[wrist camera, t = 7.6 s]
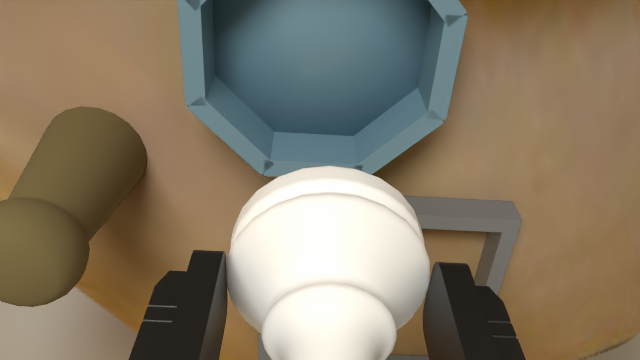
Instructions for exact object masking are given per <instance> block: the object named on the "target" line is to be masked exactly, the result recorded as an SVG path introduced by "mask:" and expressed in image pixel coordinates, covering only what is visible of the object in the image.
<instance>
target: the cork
mask: <svg viewBox="0 0 640 360" xmlns="http://www.w3.org/2000/svg"><path fill="white" fill-rule="evenodd" d="M146 165H147V157H146V149H145V147H144V144H143V142H142V140H141V138H140V136H139V135H138V133H137V132H136V131H135V130H134V129H133V128H132V127H131V126H130V124H129V123H127V122H126V121H124V120H123V119H121V118H120V117H118V116H117V115H115V114H113V113H110V112H108V111H105V110H102V109H99V108H91V107H78V108H73V109H69V110H65V111H64V112H62V113H61V114H59V115H58V116H56V117H55V118H54V119H53V120H52V122H51V123H50V125H49V126H48V128H47V129H46V131H45V133H44V134H43V136H42V138H41V140H40V142H39V144H38V145H37V147H36V149H35V151H34V153H33V154H32V156H31V158H30V160H29V162H28V163H27V165H26V167H25V169H24V171H23V173H22V174H21V176H20V178H19V180H18V182H17V183H16V185H15V187H14V189H13V191H12V192H11V194H10V196H9V198H8V199H7V200H3V201H1V202H0V301H2V302H6V303H9V304H13V305H17V306H30V307H33V306H39V305H44V304H48V303H50V302H53V301H55V300H57V299H59V298H61V297H63V296H65V295H66V294H67V293H68V292H69V291H70V290H71V289H72V288H73V287H74V286H75V285H76V284H77V283H78V281H79V280H80V279H81V278H82V276H83V274H84V272H85V269H86V265H87V261H88V257H89V250H90V248H89V243H88V242H89V241H90V240H91V238H92V237H93V236H94V235H95V233H96V232H97V231H98V230H99V229H100V227H101V226H102V225H103V224H104V222H105V221H106V220H107V219H108V218H109V216H110V215H111V214H112V213H113V211H114V210H115V209H116V208H117V207H118V205H119V204H120V203H121V202H122V200H123V199H124V198H125V197H126V196H127V194H128V193H129V192H130V191H131V190H132V188H133V187H134V186H135V185H136V183H137V182H138V181H139V180H140V178H141V177H142V176H143V175H144V171H145V168H146Z"/></svg>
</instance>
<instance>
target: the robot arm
mask: <svg viewBox="0 0 640 360" xmlns="http://www.w3.org/2000/svg"><path fill="white" fill-rule="evenodd" d="M226 315H227V272H226V254H225V252H224V251H204V250H194V251H193V253H192V256H191V259H190V262H189V266H188V269H187V272H185V271H169V272H168V273H167V274H166V275H165V276H164V277H163V278H162V279H161V280H160V281H159V282H158V283H157V284H156V285H155V287H154V290H153V293H152V296H151V299H150V301H149V306H148V307H147V310H146V313H145V315H144V318H143V322H142V324H141V327H140V329H139V332H138V335H137V338H136V341H135V343H134V346H133V349H132V352H131V355H130V357H129V360H219V355H220V350H221V345H222V339H223V334H224V329H225V323H226ZM423 331H424V337H425V341H426V346H427V351H428V356H429V360H526V359H525V357H524V354H523V352H522V349H521V346H520V344H519V341H518V339H516V334H515V331H514V328H513V326H512V324H510V318H509V316H508V313H507V310H506V308H505V305H504V303H503V301H502V300H501V299H500V298H499V297H498V296H497V295H496V294H495V293H494V292H493V290H492V289H491V288H490V287H489V286H475V283H474V280H473V277H472V274H471V271H470V268H469V266H468V265H467V264H464V263H443V262H436V263H435V264H434V266H433V269H432V274H431V278H430V282H429V287H428V291H427V295H426V300H425V304H424V309H423Z"/></svg>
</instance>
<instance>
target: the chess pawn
mask: <svg viewBox="0 0 640 360" xmlns="http://www.w3.org/2000/svg"><path fill="white" fill-rule="evenodd" d="M226 272H227V287H228V291H229V294H230V298H231V301H232V302H233V304H234V305H235V307H236V308H237V310H238V311H239V313H240V314H241V316H242V317H243V319H244V320H245V321H247V322H248V323H249V324H250V325H251V326H252V327H254V328H255V329H256V330H257V331H258V332H259V333H261V337H262V341H263V345H264V349H265V350H266V352H267V353H268V355H269V356H270V358H271V359H272V360H386V359H387V357H388V356H389V355H390V353H391V352H392V351H393V348H394V345H395V342H396V338H397V330H398V329H400V328H401V327H402V326H403V325H405V324H406V323H407V322H408V321H410V319H411V318H412V317H413V315H414V314H415V313H416V311H417V310H418V309H419V307H420V306H421V305H422V303H423V301H424V298H425V295H426V292H427V289H428V286H429V282H430V260H429V257H428V254H427V252H426V249H425V247H424V238H423V234H422V230H421V227H420V225H419V222H418V219H417V216H416V214H415V211H414V209H413V208H412V207H411V205H410V204H409V203H408V202H407V200H406V199H405V198H404V197H403V195H402V194H401V193H400V192H399V191H398V190H396V189H395V188H393V187H392V186H391V185H389V184H388V183H386V182H385V181H383V180H382V179H381V178H379V177H376V176H373V175H371V174H368V173H365V172H363V171H360V170H357V169H352V168H344V167H336V166H321V167H311V168H303V169H300V170H297V171H294V172H291V173H288V174H285V175H282V176H279V177H277V178H276V179H274V180H273V181H271V182H270V183H268V184H267V185H265V186H263V187H262V188H260V189H259V190H257V192H256V193H255V194H254V195H253V196H252V197H251V198H250V200H249V201H248V202H247V203H246V204H245V205H244V206H243V208H242V210H241V212H240V214H239V217H238V219H237V221H236V224H235V226H234V229H233V234H232V238H231V250H230V252H229V255H228V257H227V266H226Z"/></svg>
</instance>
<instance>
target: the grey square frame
mask: <svg viewBox="0 0 640 360" xmlns="http://www.w3.org/2000/svg"><path fill="white" fill-rule="evenodd" d="M403 197H404V198H405V199H406V200H407V202H408V203H409V204H410V205H411V207H412V208H413V209H414V211H415V214H416V216H417V219H418V222H419V225H420V227H421V229H441V230H461V231H482V232H488V234H487V238H486V241H485V244H484V248H483V251H482V255H481V258H480V262H479V265H478V269H477V272H476V275H475V279H474V283H475V286H489V287H490V288H491V289H492V290H493V292H494V293H495V294H496V295H497V296H498V293H499V290H500V287H501V284H502V281H503V278H504V275H505V272H506V269H507V266H508V263H509V260H510V257H511V254H512V251H513V247H514V244H515V241H516V238H517V235H518V232H519V229H520V226H521V223H522V219H521V217H520V215H519V213H518V211H517V209H516V207H515V205H514V203H513V202H511V201H492V200H472V199H453V198H433V197H413V196H403ZM258 360H272V359H271V358H270V356H269V355H268V353H267V352H266V350H265V349H264V345H263V341H262V337H261V333H259V358H258ZM386 360H429V356H411V355H389V356H388V357H387V359H386Z"/></svg>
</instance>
